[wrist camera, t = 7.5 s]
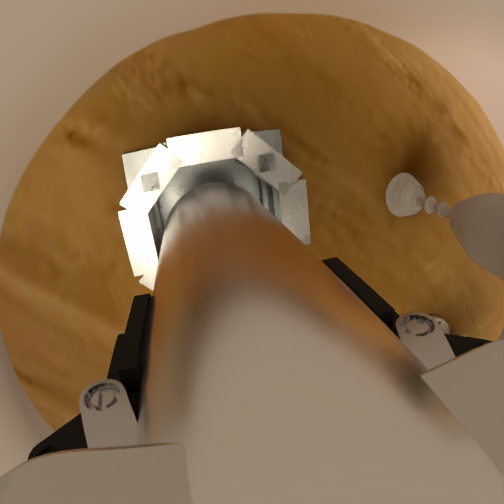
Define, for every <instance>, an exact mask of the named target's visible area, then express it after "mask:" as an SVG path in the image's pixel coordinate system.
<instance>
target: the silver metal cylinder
mask: <svg viewBox="0 0 504 504" xmlns="http://www.w3.org/2000/svg"><path fill="white" fill-rule="evenodd" d="M426 371H428V369H427V368H426V367H425V366H424V365H423V364H422V363H421V362H420V360H419V359H418V358H417V357H416V356H415V355H414V354H413V353H412V352H411V351H410V350H409V349H408V348H407V347H406V346H405V345H404V344H403V342H402V341H401V340H400V339H399V338H398V337H397V336H396V335H395V334H394V333H393V332H392V331H391V330H390V329H389V328H388V327H387V326H386V325H385V324H384V323H383V322H382V321H381V320H380V319H379V318H378V317H377V316H376V315H375V314H374V313H373V312H372V311H371V310H370V309H369V307H368V306H367V305H366V304H365V303H364V302H363V301H362V300H361V299H360V298H359V297H358V296H357V295H356V294H355V293H354V292H353V291H352V290H351V289H350V288H349V287H348V286H347V285H346V284H345V283H344V282H343V281H342V280H340V279H339V278H338V277H337V276H336V275H335V274H334V273H333V272H332V271H331V270H330V269H329V268H328V267H327V266H326V265H325V264H324V263H323V262H322V261H321V260H320V259H319V258H318V257H317V256H316V255H315V254H314V253H313V252H312V251H311V250H310V249H309V248H308V247H307V246H306V245H304V244H303V243H302V242H301V241H300V240H299V239H298V238H297V237H296V236H295V235H294V234H293V233H292V232H291V231H290V230H289V229H288V228H287V227H286V226H284V225H283V224H282V223H281V222H280V221H279V220H278V219H277V218H276V217H275V216H274V215H273V214H272V213H271V212H270V211H268V210H267V209H266V208H265V207H264V206H263V205H262V204H261V203H260V202H259V201H258V200H257V198H255V197H254V196H253V195H252V194H251V193H249V192H248V191H247V190H246V189H243V188H241V187H239V186H237V185H234V184H230V183H223V182H214V183H206V184H202V185H200V186H197V187H195V188H193V189H191V190H189V191H188V192H187V193H185V194H184V195H183V196H181V197H180V198H179V199H178V201H177V202H176V203H175V205H174V206H173V207H172V209H171V211H170V213H169V216H168V218H167V221H166V225H165V229H164V234H163V239H162V245H161V250H160V255H159V261H158V266H157V272H156V278H155V284H154V290H153V296H152V304H151V310H150V317H149V324H148V332H147V340H146V348H145V356H144V363H143V372H142V381H141V392H140V404H139V417H138V432H137V445H140V444H151V443H184V449H185V457H186V464H187V472H188V479H189V486H190V492H191V499H192V504H504V476H503V475H502V474H501V472H500V471H499V470H498V468H497V467H496V466H495V465H494V463H493V462H492V461H491V460H490V458H489V457H488V456H487V455H486V453H485V452H484V451H483V450H482V449H481V447H480V446H479V445H478V444H477V442H476V441H475V440H474V439H473V438H472V436H471V435H470V434H469V433H468V432H467V431H466V429H465V428H464V427H463V426H462V425H461V423H460V422H459V421H458V420H457V419H456V418H455V416H454V415H453V414H452V413H451V412H450V410H449V409H448V408H447V407H446V406H445V405H444V403H443V402H442V401H441V400H440V399H439V398H438V396H437V395H436V394H435V393H434V392H433V390H432V389H431V388H430V387H429V386H428V385H427V383H426V382H425V381H424V380H423V379H422V378H421V375H422V374H423V373H425V372H426Z"/></svg>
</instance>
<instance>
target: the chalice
mask: <svg viewBox="0 0 504 504" xmlns="http://www.w3.org/2000/svg"><path fill="white" fill-rule="evenodd" d="M386 204H387V207H388V209H389V211H390V212H391V213H392V214H393V215H395V216H398V217H404V216H409V215H414V214H416V213H417V212H418V211H420V210H421V209H422V207H424V208H425V211H426V213H428V214H431V213H433V212H436V213H437V215H438V217H440V218H443V217H449V218H450V226H451V229H452V230H453V232H454V234H455V235H456V237H457V239H458V241H459V242H460V244H461V246H462V247H463V249H464V250H465V251H466V252H467V254H468V255H469V256H470V258H471V259H472V260H473V262H474V263H475V264H477V265H479V266H480V267H482V268H484V269H486V270H487V271H489V272H491V273H492V274H494V275H496V276H497V277H499V278H501V279H502V280H504V195H503V194H500V193H488V194H481V195H476V196H473V197H470V198H467V199H465V200H462V201H459V202H457V203H456V204H455V205H454V207H453V208H451V207H449V206H448V205H447V203H446V202H445V201H443V202H441V203H437V202H436V199H435V198H434V197H433V196H430V197H428V198H425V192H424V189H423V187H422V186H421V184H420V183H419V182H418V181H417V180H416V179H415V178H414V177H413V175H411V174H409V173H400V174H397V175H396V176H395V177H394V178H392V180H391V181H390V183H389V184H388V187H387V190H386Z"/></svg>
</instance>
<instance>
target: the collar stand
mask: <svg viewBox="0 0 504 504" xmlns="http://www.w3.org/2000/svg"><path fill="white" fill-rule="evenodd" d="M122 159H123V164H124V170H125V175H126V181H127V186H128V191H127V192H126V194H125V195H124V197H123V199H122V200H121V202H120V203H119V204H120V205H121V206H123V207H122V208H121V209H120V210H119V211H118V214H119V219H120V223H121V227H122V231H123V235H124V239H125V243H126V247H127V251H128V255H129V258H130V262H131V266H132V269H133V273H134V276H139V275H141V277H140V280H139V282H140V283H141V284H143V285H145V286H146V287H148V288H150V289H151V290H154V284H155V278H156V272H157V266H158V261H159V255H160V250H161V245H162V239H163V234H164V229H165V225H166V221H167V218H168V216H169V213H170V211H171V209H172V207H173V206H174V205H175V203H176V202H177V201H178V199H179V198H180V197H181V196H183V195H184V194H185V193H187V192H188V191H189V190H191V189H193V188H195V187H197V186H200V185H202V184H206V183H214V182H223V183H230V184H234V185H237V186H239V187H241V188H243V189H246V190H247V191H248V192H249V193H251V194H252V195H253V196H254V197H255V198H257V200H258V201H259V202H260V203H261V204H262V205H263V206H264V207H265V208H266V209H267V210H268V211H270V212H271V213H272V214H273V215H274V216H275V217H276V218H277V219H278V220H279V221H280V222H281V223H282V224H283V225H284V226H286V227H287V228H288V229H289V230H290V231H291V232H292V233H293V234H294V235H295V236H296V237H297V238H298V239H299V240H300V241H301V242H302V243H303V244H304V245H307V244H311V243H310V227H309V212H308V199H307V186H306V179H304V178H301V177H300V175H301V174H302V172H301V171H300V170H299V169H297V168H296V167H295V166H294V165H293V164H291V163H290V162H289V161H288V160H287V159H285V158H284V157H283V150H282V141H281V133H280V129H274V130H264V131H255V132H251V131H250V130H249V129H245V130H243V131H242V132H241V129H240V127H236V128H229V129H222V130H215V131H208V132H202V133H196V134H190V135H184V136H178V137H173V138H168V139H167V142H164V143H159V144H158V146H157V147H155V148H150V149H145V150H141V151H136V152H132V153H127V154H123V155H122Z"/></svg>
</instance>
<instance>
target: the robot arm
mask: <svg viewBox="0 0 504 504" xmlns="http://www.w3.org/2000/svg"><path fill="white" fill-rule="evenodd" d="M322 262H323V263H324V264H325V265H326V266H327V267H328V268H329V269H330V270H331V271H332V272H333V273H334V274H335V275H336V276H337V277H338V278H339V279H340V280H342V281H343V282H344V283H345V284H346V285H347V286H348V287H349V288H350V289H351V290H352V291H353V292H354V293H355V294H356V295H357V296H358V297H359V298H360V299H361V300H362V301H363V302H364V303H365V304H366V305H367V306H368V307H369V309H370V310H371V311H372V312H373V313H374V314H375V315H376V316H377V317H378V318H379V319H380V320H381V321H382V322H383V323H384V324H385V325H386V326H387V327H388V328H389V329H390V330H391V331H392V332H393V333H394V334H395V335H396V336H397V337H398V338H399V339H400V340H401V341H402V342H403V344H404V345H405V346H406V347H407V348H408V349H409V350H410V351H411V352H412V353H413V354H414V355H415V356H416V357H417V358H418V359H419V360H420V362H421V363H422V364H423V365H424V366H425V367H426V368H427V369H428V371H426V372H425V373H423V374H422V375H421V378H422V379H423V380H424V381H425V382H426V383H427V385H428V386H429V387H430V388H431V389H432V390H433V392H434V393H435V394H436V395H437V396H438V398H439V399H440V400H441V401H442V402H443V403H444V405H445V406H446V407H447V408H448V409H449V410H450V412H451V413H452V414H453V415H454V416H455V418H456V419H457V420H458V421H459V422H460V423H461V425H462V426H463V427H464V428H465V429H466V431H467V432H468V433H469V434H470V435H471V436H472V438H473V439H474V440H475V441H476V442H477V444H478V445H479V446H480V447H481V449H482V450H483V451H484V452H485V453H486V455H487V456H488V457H489V458H490V460H491V461H492V462H493V463H494V465H495V466H496V467H497V468H498V470H499V471H500V472H501V474H502V475H503V476H504V339H501V340H497V341H493V342H492V341H489V340H484V339H477V338H470V337H467V335H466V334H461V335H459V336H458V335H452V334H450V329H449V326H448V324H447V322H446V321H445V320H443V319H442V318H441V317H439V316H433V315H431V316H430V315H428V314H425V313H420V312H410V313H406V314H403V315H401V316H399V315H398V314H397V313H396V312H395V311H394V309H393V308H392V307H391V306H390V305H389V304H388V303H387V302H386V301H385V300H384V299H383V298H382V297H380V296H379V295H378V294H377V293H376V292H375V291H374V290H373V289H372V288H371V287H369V286H368V285H367V284H366V283H365V282H364V281H363V280H362V279H361V278H360V277H358V276H357V275H356V274H355V273H354V272H353V271H352V270H351V269H349V268H348V267H347V266H346V265H345V264H344V263H343V262H342V261H340V260H339V259H338V258H337V257H335V258H331V259H326V260H322ZM151 304H152V297H151V295H150V294H144V295H138V296H134V299H133V303H132V307H131V310H130V314H129V318H128V322H127V326H126V330H125V334H119V335H118V337H117V340H116V344H115V348H114V352H113V356H112V360H111V364H110V368H109V372H108V376H107V379H103V380H99V381H96V382H94V383H92V384H90V385H89V386H88V387H86V388H85V390H84V391H83V392H82V393H81V396H80V398H79V405H80V411H81V413H80V414H79V415H78V416H76V417H75V418H73V419H72V420H71V421H69V422H68V423H67V424H65V425H64V426H62V427H61V428H60V429H58V430H57V431H56V432H54V433H53V434H51V435H50V436H49V437H47V438H46V439H45V440H43V441H42V442H40V443H39V444H38V445H36V446H35V447H34V448H33V449H32V451H31V452H30V454H29V457H28V460H27V461H25V462H23V463H21V464H19V465H18V466H16V467H15V468H14V469H12V470H10V471H8V472H7V473H5V474H4V475H2V476H1V477H0V504H192V499H191V492H190V486H189V479H188V472H187V464H186V457H185V449H184V443H151V444H140V445H137V432H138V417H139V404H140V392H141V381H142V372H143V363H144V356H145V348H146V340H147V332H148V324H149V317H150V310H151Z"/></svg>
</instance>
